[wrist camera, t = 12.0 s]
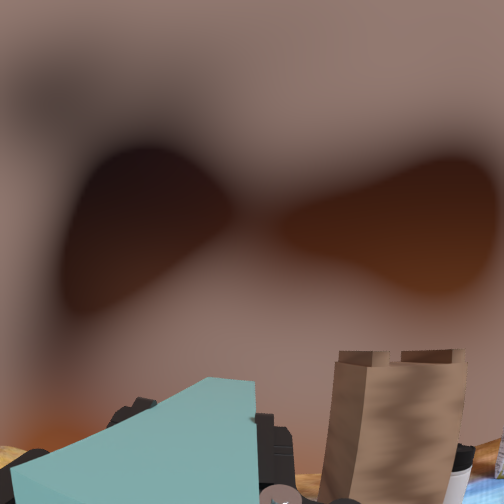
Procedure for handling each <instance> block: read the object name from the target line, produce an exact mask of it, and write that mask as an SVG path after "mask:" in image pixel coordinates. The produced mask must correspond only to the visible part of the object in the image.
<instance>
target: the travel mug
mask: <svg viewBox="0 0 504 504" xmlns="http://www.w3.org/2000/svg"><path fill="white" fill-rule="evenodd" d="M475 449H476V448H475V447H474V446H465V445H464V446H463V445H462V444H460V443H458V444H457V449H456V454H455V459H454V464H453V468H452V472H451V476H450V480H449V484H448V488H447V491H446V495H445V498H444V501H443V504H462V501H463V497H464V494H465V491H466V487H467V484H468V480H469V476H470V472H471V468H472V463H473V458H474V454H475Z"/></svg>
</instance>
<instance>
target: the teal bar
mask: <svg viewBox="0 0 504 504" xmlns="http://www.w3.org/2000/svg"><path fill="white" fill-rule="evenodd" d="M255 413H256V402H255V382H254V381H242V380H232V379H222V378H213V377H207V378H205V379H203V380H202V381H200V382H198V383H196V384H194V385H193V386H191V387H189V388H187V389H185V390H183V391H182V392H180V393H178V394H176V395H174V396H172V397H170V398H168V399H166V400H164V401H162V402H161V403H159V404H157V405H156V406H154V407H153V408H151V409H147V410H145V411H143V412H141V413H139V414H137V415H135V416H133V417H131V418H128V419H126V420H124V421H122V422H120V423H118V424H116V425H114V426H112V427H109V428H107V429H105V430H103V431H101V432H99V433H96V434H94V435H92V436H90V437H87V438H85V439H83V440H81V441H78V442H76V443H74V444H71V445H69V446H66V447H64V448H62V449H59V450H57V451H54V452H52V453H49V454H47V455H44V456H42V457H39V458H36V459H34V460H31V461H28V462H26V463H23V464H20V465H18V466H15V467H12V468H10V470H11V478H12V484H13V490H14V496H15V502H16V504H259V479H258V453H257V428H256V424H255Z"/></svg>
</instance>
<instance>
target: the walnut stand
mask: <svg viewBox="0 0 504 504" xmlns="http://www.w3.org/2000/svg"><path fill="white" fill-rule="evenodd" d="M389 359H390V351H339V361H338V362H335V370H334V383H333V392H332V402H331V411H330V419H329V428H328V437H327V443H326V450H325V457H324V464H323V470H322V476H321V482H320V488H319V493H318V499H317V502H320V503H324V504H329V503H330V502H332V501H334V500H336V499H341V498H349V499H354V500H356V501H358V502H360V503H361V504H443V501H444V498H445V495H446V491H447V488H448V484H449V480H450V476H451V472H452V468H453V464H454V459H455V454H456V449H457V444H458V439H459V433H460V427H461V421H462V414H463V407H464V399H465V390H466V379H467V365H468V362H465V349H449V350H429V351H428V350H427V351H402V352H401V362H389Z"/></svg>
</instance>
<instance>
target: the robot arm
mask: <svg viewBox="0 0 504 504" xmlns="http://www.w3.org/2000/svg"><path fill="white" fill-rule="evenodd" d="M156 405H157V402H156V400H151V399H146V398H141V397H138V398H136V400H135V402H134V404H133V405H132V407H127V406H124V407H122V408H121V409H120V410H118V411H117V412H115V414H114V416H113V417H112V419H111V422H109V424H108V426H107V428H109V427H112V426H114V425H116V424H118V423H120V422H122V421H124V420H126V419H128V418H131V417H133V416H135V415H137V414H139V413H141V412H143V411H145V410H147V409H151V408H153V407H154V406H156ZM255 424H256V428H257V453H258V479H259V504H324V503H320V502H315V501H311V500H309V499H307V498H305V497H303V496H302V495H301V494H300V493H299V492H298V490H297V488H296V484H295V470H294V456H293V443H292V435H291V434H290V432H289V431H288V430H287V428H286V427H276V426H274V415H273V414H265V413H255ZM107 428H106V429H107ZM49 453H50V452H48V451H46V450H44V449H32V450H29V451H28V452H26V453H24V454H23V455H21V456H20V457H18V458H17V459H15V460H14V461H12V462H11V463H9V464H8V465H6V466H5V467H3V468H2V469H0V504H16V502H15V496H14V490H13V484H12V478H11V470H10V468H12V467H15V466H18V465H20V464H23V463H26V462H28V461H31V460H34V459H36V458H39V457H42V456H44V455H47V454H49ZM329 504H361V503H360V502H358V501H356V500H354V499H349V498H341V499H336V500H334V501H332V502H330V503H329Z"/></svg>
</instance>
